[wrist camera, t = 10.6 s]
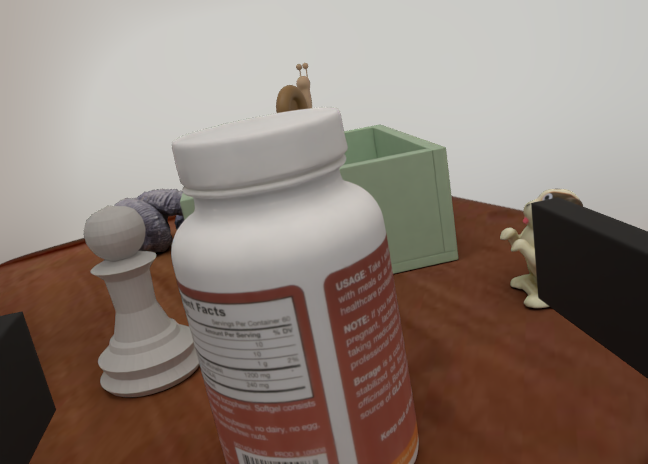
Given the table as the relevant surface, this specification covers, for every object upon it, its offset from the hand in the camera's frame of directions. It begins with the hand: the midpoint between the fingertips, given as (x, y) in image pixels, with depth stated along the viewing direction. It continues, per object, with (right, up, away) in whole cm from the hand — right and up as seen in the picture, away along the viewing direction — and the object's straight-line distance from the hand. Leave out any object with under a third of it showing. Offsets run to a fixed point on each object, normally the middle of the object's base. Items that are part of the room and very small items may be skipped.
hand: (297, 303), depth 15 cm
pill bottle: (+1, -6, +4) cm, 7 cm away
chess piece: (-7, -5, +13) cm, 15 cm away
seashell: (-13, 0, +33) cm, 35 cm away
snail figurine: (0, +5, +42) cm, 42 cm away
